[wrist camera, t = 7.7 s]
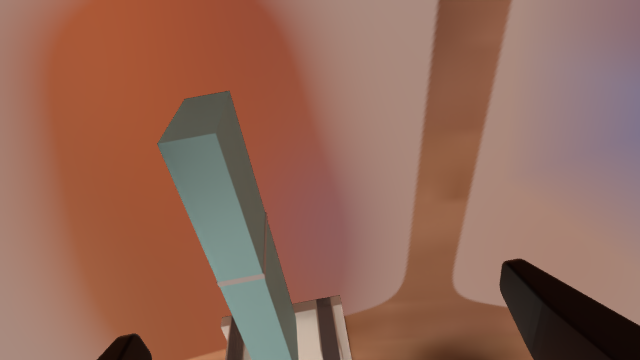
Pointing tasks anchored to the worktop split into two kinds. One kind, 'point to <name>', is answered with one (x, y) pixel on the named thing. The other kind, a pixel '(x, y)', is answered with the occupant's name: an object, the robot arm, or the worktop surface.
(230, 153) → the teal square rod
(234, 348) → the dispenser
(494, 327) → the worktop surface
